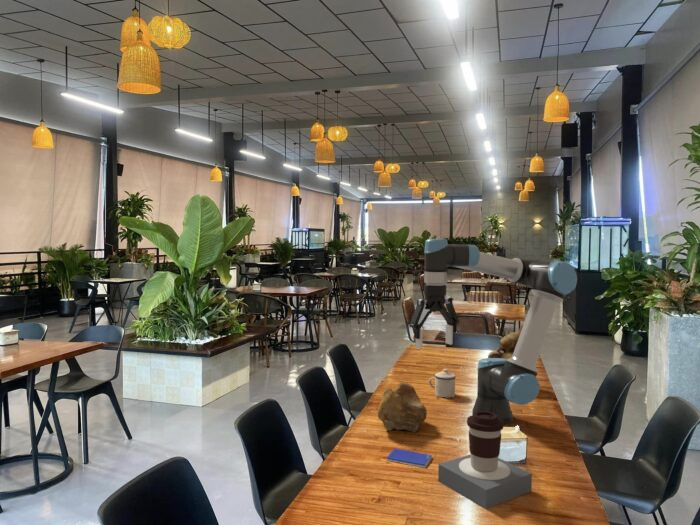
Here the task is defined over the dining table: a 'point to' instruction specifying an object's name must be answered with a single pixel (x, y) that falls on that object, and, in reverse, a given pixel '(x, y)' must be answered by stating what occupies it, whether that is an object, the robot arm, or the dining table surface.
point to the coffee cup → (484, 440)
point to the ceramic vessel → (506, 345)
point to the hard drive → (409, 457)
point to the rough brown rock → (401, 408)
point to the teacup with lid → (444, 384)
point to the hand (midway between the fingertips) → (434, 346)
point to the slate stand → (485, 481)
